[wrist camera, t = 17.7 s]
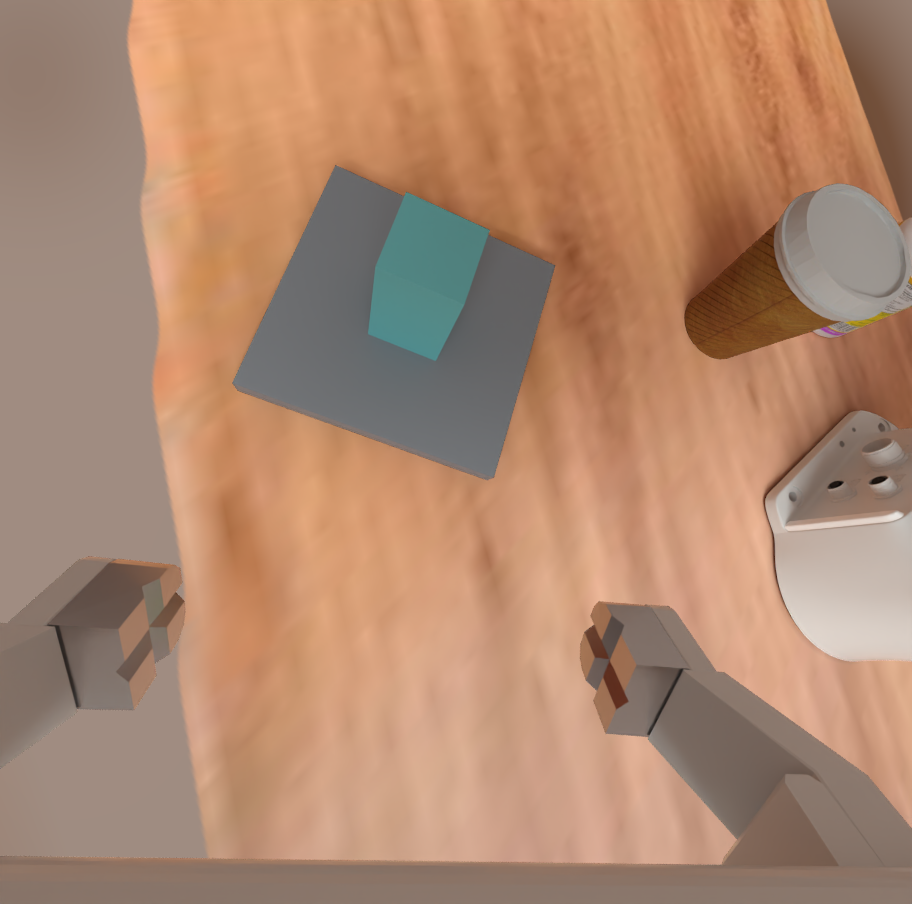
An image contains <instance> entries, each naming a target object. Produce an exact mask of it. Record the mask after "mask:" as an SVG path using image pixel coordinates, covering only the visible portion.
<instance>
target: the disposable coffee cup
mask: <svg viewBox="0 0 912 904" xmlns="http://www.w3.org/2000/svg"><path fill="white" fill-rule="evenodd" d="M910 267H911V264H910V254H909V250H908V246H907V243H906V240H905V237H904V235H903V233H902V231H901V229H900V227H899V225H898V224H897V222H896V221H895V219H894V218H893V217H892V215H891V214H890V213H889V211H888V210H887V209H886V208H885V207H884V206H883V205H882V204H881V203H880V202H879V201H878V200H877V199H875V198H874V197H873V196H872V195H870V194H868V193H867V192H865V191H863V190H861V189H860V188H858V187H854V186H851V185H848V184H838V183H837V184H832V185H828V186H825V187H823V188H821V189H819V190H817V191H812V192H808V193H804V194H802V195H800V196H798V197H797V198H796V199H795V200H794V201H793V202H791V203H790V204H789V205H788V207H787V208H786V210H785V211H784V213H783V214H782V215H781V217H780V219H779V221H778V222H777V223H776V224H775V225H774V226H773V227H772V228H771V229H769V230H768V231H767V232H766V233H765V234H764V235H763V236H762V237H761V238H760V239H759V240H758V241H756V242H755V243H754V244H753V245H752V246H751V247H749V248H748V249H747V250H746V252H744V253H743V254H742V255H741V256H740V257H739V258H738V259H736V260H735V261H734V262H733V263H732V264H731V265H730V266H729V267H728V268H727V269H725V270H724V271H723V272H722V274H720V275H719V276H718V277H717V278H716V279H715V280H714V281H712V283H710V284H709V285H708V286H707V287H706V288H705V289H704V290H703V291H702V292H700V293H699V294H698V295H697V296H696V297H695V298H694V299H692V300H691V301H690V303H689V305H688V306H687V309H686V313H685V325H686V328H687V332H688V334H689V337H690V338H691V340H692V342H693V343H694V344H695V345H696V346H697V348H698V349H699V350H701V351H702V352H703V353H705V354H706V355H708V356H710V357H713V358H716V359H727V358H730V357H733V356H736V355H739V354H742V353H745V352H749V351H752V350H755V349H758V348H761V347H764V346H768V345H771V344H774V343H777V342H780V341H783V340H786V339H789V338H793V337H796V336H799V335H802V334H805V333H808V332H811V331H814V330H818V329H821V328H824V327H827V326H830V325H833V324H836V323H839V322H848V321H862V320H865V319H869V318H872V317H874V316H876V315H878V314H879V313H880V312H882V311H883V310H884V309H885V307H886V306H887V304H888V303H890V302H891V301H893V300H894V299H896V298H897V297H898V296H899V295H900V294H902V293H903V291H904V289H905V288H906V286H907V284H908V281H909V278H910Z"/></svg>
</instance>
